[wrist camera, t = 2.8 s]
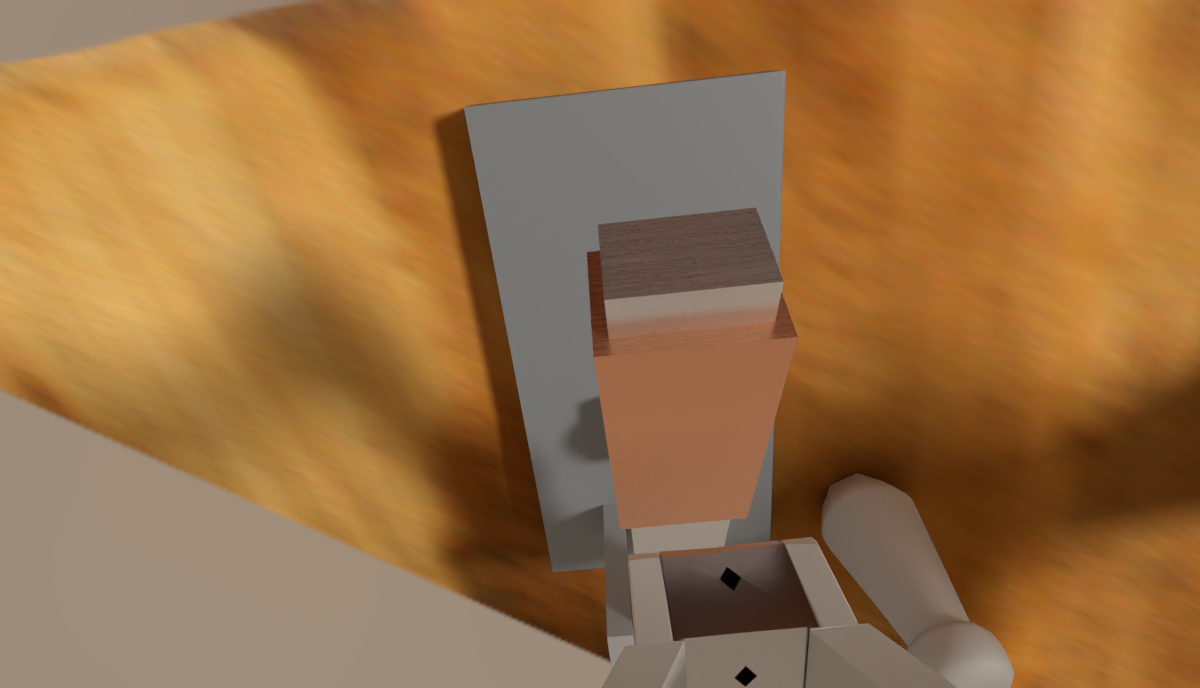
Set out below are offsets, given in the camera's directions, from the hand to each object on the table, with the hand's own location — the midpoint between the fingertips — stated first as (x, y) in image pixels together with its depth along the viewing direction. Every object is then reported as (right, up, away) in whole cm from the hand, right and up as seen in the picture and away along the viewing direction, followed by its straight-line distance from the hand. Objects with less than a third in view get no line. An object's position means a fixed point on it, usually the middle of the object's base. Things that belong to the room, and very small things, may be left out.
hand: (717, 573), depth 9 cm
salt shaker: (+15, -6, +28) cm, 32 cm away
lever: (+1, -1, +12) cm, 12 cm away
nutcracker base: (+1, +3, +23) cm, 23 cm away
